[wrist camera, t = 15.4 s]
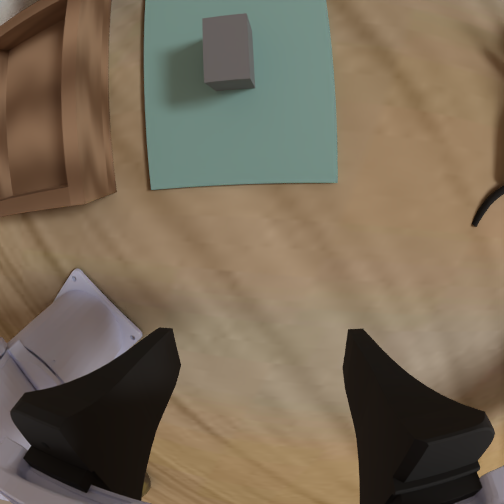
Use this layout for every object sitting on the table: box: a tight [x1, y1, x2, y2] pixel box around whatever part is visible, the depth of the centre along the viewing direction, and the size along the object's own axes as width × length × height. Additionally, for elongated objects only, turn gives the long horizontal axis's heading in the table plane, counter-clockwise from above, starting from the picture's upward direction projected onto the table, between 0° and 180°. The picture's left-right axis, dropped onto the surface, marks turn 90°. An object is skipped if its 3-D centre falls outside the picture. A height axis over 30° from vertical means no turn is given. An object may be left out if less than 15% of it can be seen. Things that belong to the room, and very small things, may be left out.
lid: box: [144, 0, 338, 190], centre depth 15 cm, size 16×12×4 cm
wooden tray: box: [0, 0, 117, 217], centre depth 14 cm, size 24×12×5 cm, turn 3°
